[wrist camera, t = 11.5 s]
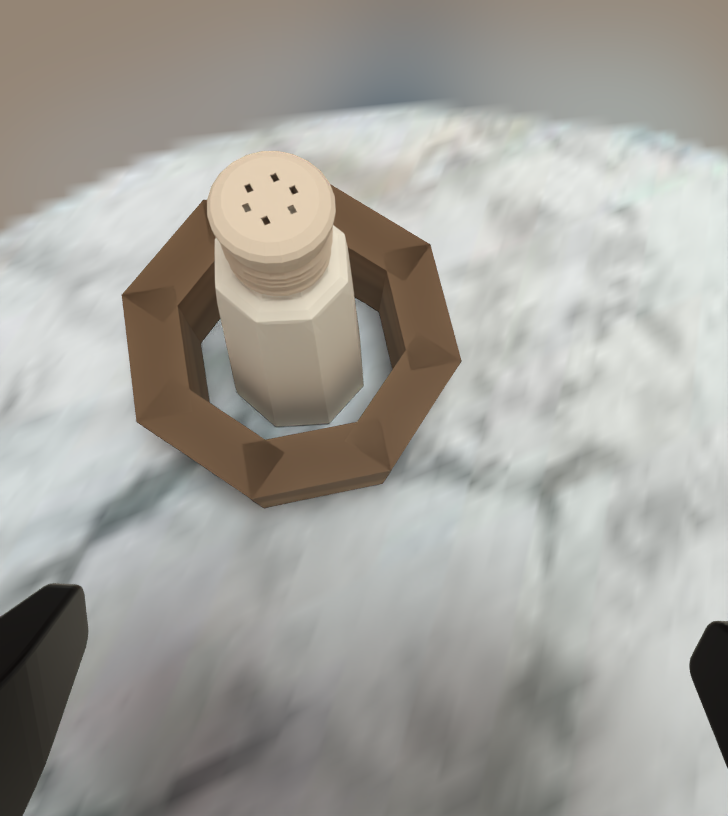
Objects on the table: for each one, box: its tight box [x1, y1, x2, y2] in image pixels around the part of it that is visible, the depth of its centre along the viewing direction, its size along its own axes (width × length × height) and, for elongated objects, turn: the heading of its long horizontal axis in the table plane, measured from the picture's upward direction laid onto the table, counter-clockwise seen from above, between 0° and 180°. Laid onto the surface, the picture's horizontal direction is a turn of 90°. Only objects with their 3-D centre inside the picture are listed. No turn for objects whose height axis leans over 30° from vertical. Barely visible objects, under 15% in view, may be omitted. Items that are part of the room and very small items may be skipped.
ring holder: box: [122, 184, 461, 508], centre depth 21 cm, size 11×11×4 cm
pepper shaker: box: [207, 151, 364, 427], centre depth 17 cm, size 5×5×11 cm
